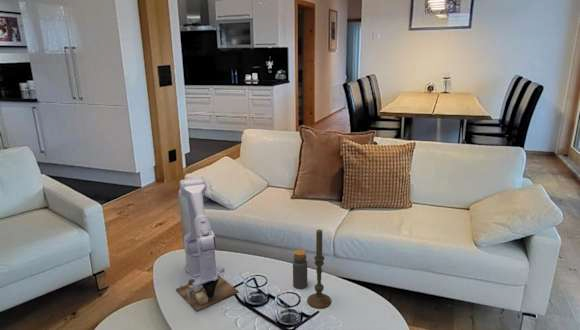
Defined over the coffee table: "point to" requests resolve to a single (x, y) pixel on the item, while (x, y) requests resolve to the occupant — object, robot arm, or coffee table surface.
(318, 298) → the candlestick holder
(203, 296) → the link
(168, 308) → the coffee table surface
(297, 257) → the bottle
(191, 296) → the keeper
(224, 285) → the board
